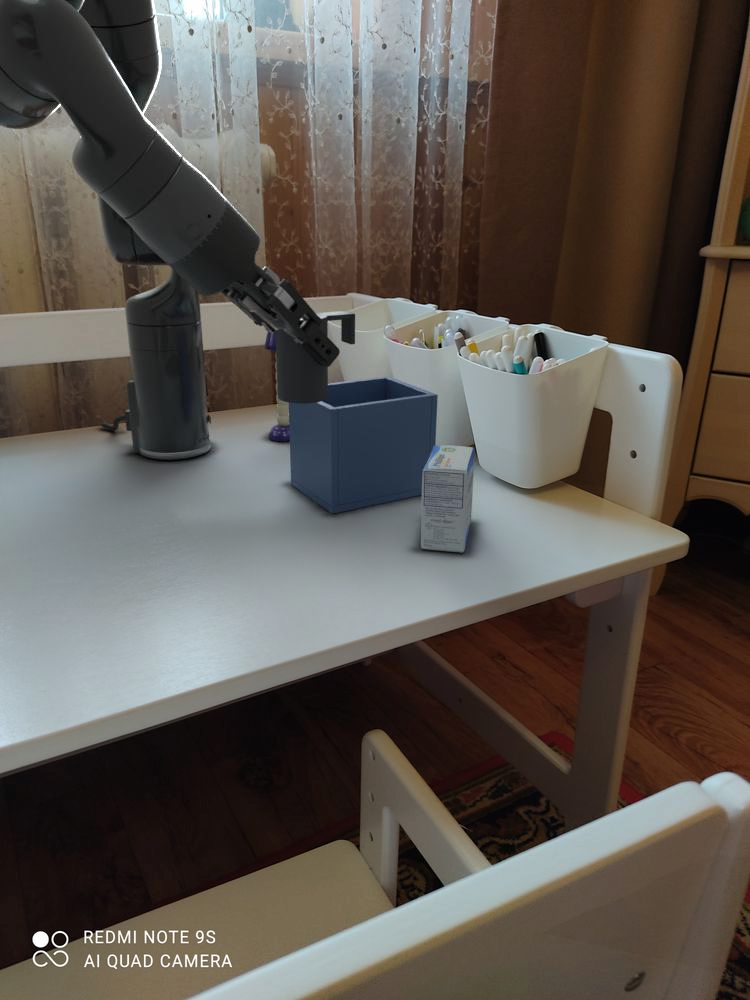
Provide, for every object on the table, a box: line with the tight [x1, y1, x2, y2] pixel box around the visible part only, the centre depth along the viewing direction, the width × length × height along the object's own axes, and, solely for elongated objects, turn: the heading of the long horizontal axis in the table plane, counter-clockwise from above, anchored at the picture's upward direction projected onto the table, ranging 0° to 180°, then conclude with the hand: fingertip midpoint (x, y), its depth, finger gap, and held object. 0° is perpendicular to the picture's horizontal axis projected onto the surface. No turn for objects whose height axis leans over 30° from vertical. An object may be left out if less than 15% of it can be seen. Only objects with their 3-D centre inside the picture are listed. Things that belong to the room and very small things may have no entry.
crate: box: [288, 375, 439, 515], centre depth 90 cm, size 14×11×12 cm
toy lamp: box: [264, 331, 290, 442], centre depth 108 cm, size 5×5×17 cm
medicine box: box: [420, 444, 476, 554], centre depth 78 cm, size 8×4×9 cm, turn 168°
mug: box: [275, 310, 356, 404], centre depth 76 cm, size 8×5×8 cm, turn 121°
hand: (318, 353), depth 76 cm, fingers closed on mug, 5 cm apart
